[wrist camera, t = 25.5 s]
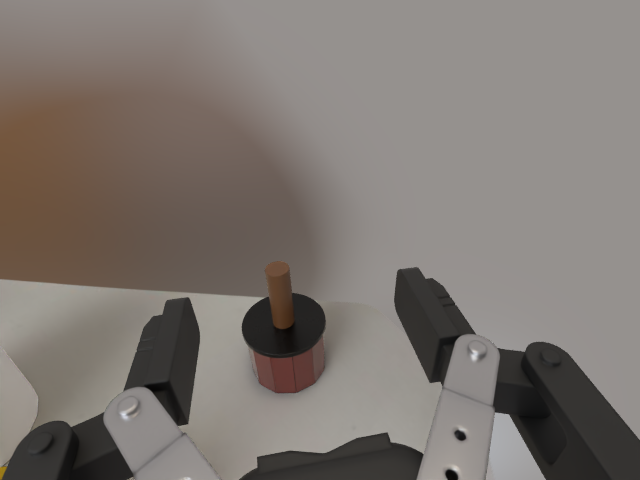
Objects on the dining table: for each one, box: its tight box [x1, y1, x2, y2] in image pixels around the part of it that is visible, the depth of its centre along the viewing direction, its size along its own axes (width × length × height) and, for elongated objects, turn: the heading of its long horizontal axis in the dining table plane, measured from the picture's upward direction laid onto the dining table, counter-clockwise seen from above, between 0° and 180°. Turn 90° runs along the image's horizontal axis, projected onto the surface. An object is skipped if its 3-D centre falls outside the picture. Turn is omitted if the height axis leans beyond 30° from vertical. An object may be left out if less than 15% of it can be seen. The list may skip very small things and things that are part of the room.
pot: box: [248, 333, 324, 393], centre depth 46 cm, size 9×9×7 cm
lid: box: [242, 261, 326, 358], centre depth 42 cm, size 10×10×9 cm
